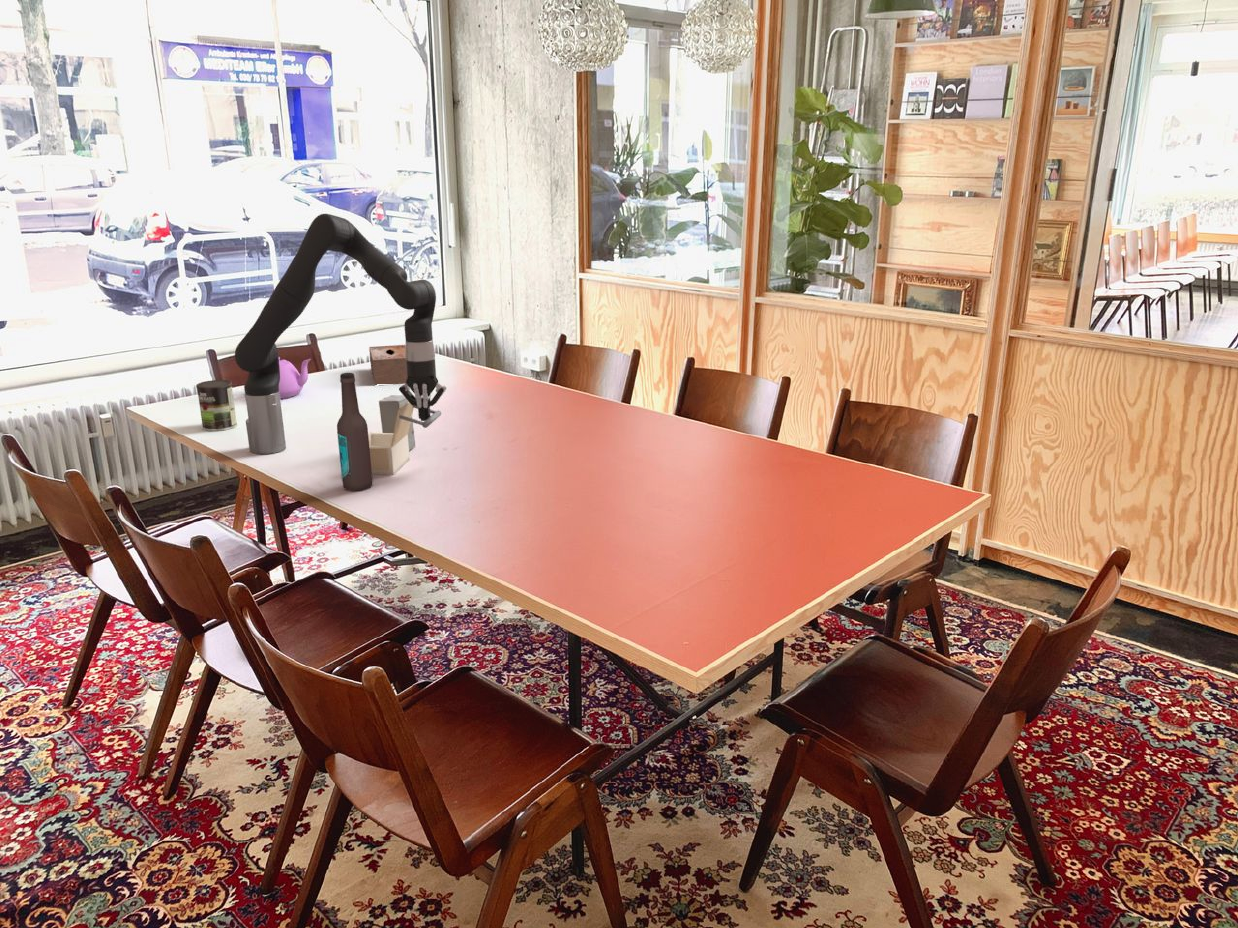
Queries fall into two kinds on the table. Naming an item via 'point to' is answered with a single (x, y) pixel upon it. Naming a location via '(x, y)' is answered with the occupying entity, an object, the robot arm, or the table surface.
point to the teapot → (291, 378)
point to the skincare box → (394, 415)
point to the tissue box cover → (388, 364)
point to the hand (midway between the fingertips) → (424, 420)
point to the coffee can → (216, 405)
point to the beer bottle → (353, 440)
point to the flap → (409, 421)
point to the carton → (387, 453)
